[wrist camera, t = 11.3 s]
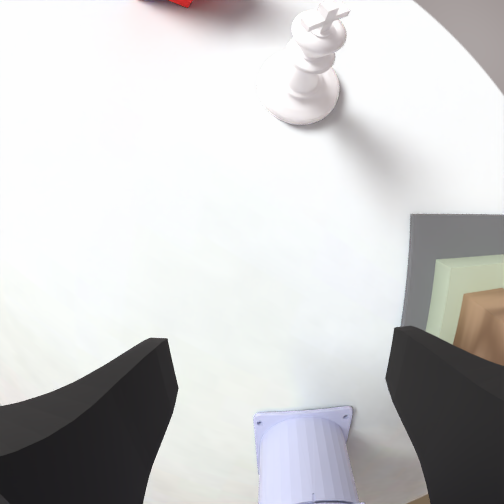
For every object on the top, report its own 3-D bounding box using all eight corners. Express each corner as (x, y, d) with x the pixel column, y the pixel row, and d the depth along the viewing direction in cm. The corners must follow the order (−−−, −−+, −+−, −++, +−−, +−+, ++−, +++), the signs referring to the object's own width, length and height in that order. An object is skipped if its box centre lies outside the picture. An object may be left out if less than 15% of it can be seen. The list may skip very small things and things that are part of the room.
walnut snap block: (488, 342, 17) (535, 387, 11) (450, 351, 17) (496, 405, 11) (502, 287, 16) (559, 324, 10) (463, 293, 16) (522, 338, 10)
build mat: (487, 365, 21) (489, 368, 20) (388, 389, 21) (390, 392, 21) (517, 215, 17) (521, 216, 17) (410, 214, 18) (413, 215, 17)
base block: (484, 344, 20) (495, 356, 18) (419, 359, 20) (429, 373, 18) (502, 254, 18) (518, 261, 16) (435, 259, 18) (450, 268, 16)
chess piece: (241, 75, 16) (216, -14, 7) (308, 40, 15) (340, -58, 6) (286, 139, 17) (311, 100, 8) (353, 101, 16) (431, 43, 7)
